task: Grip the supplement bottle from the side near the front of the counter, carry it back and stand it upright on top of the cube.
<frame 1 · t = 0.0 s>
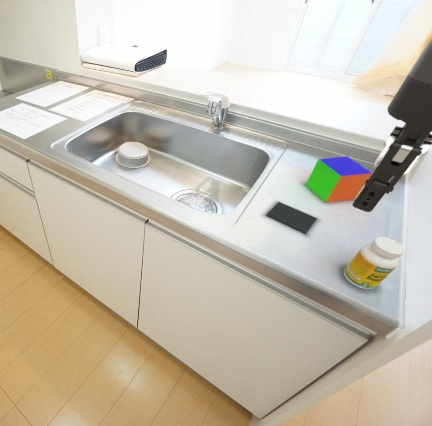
hand: (368, 195, 41), 20 cm above the counter, tool pointing down, fingers open, 8 cm apart
cube: (328, 192, 75), on the counter
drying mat: (290, 217, 67), on the counter
supplement bottle: (358, 279, 54), on the counter
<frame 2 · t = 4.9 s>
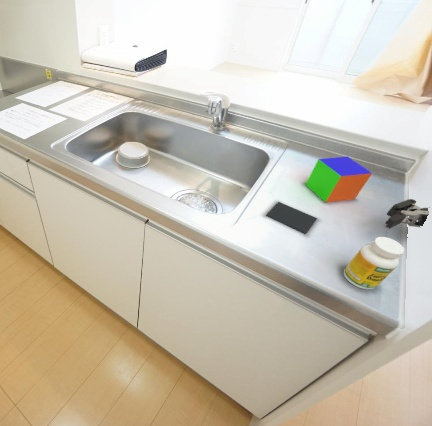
hand: (414, 238, 53), 6 cm above the counter, tool horizontal, fingers open, 8 cm apart
nothing on the counter moved.
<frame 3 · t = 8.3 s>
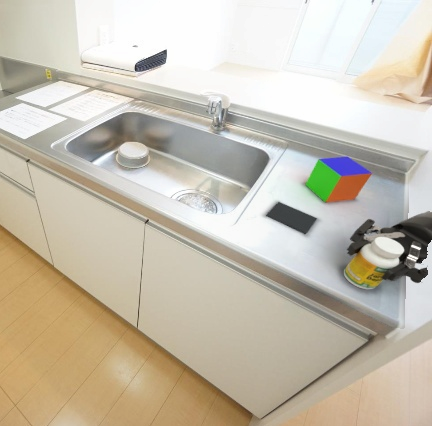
hand: (368, 263, 49), 6 cm above the counter, tool horizontal, fingers closed on supplement bottle, 5 cm apart
supplement bottle: (358, 279, 54), on the counter, touching gripper
everything else where it was.
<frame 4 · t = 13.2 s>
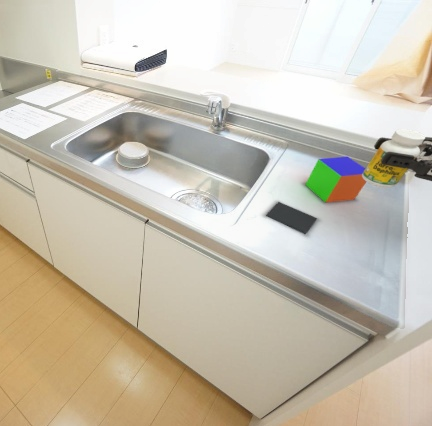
hand: (380, 150, 51), 20 cm above the counter, tool horizontal, fingers closed on supplement bottle, 5 cm apart
supplement bottle: (376, 181, 54), point 14 cm above the counter, touching gripper
everything else where it was.
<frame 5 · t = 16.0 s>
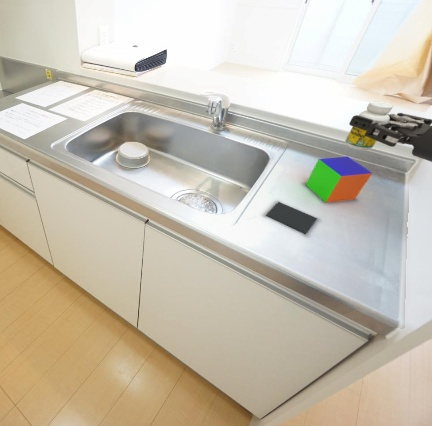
hand: (359, 117, 63), 20 cm above the counter, tool horizontal, fingers closed on supplement bottle, 5 cm apart
supplement bottle: (356, 146, 66), point 13 cm above the counter, touching gripper
everything else where it was.
when the fingers open (14 cm above the counter, at t = 18.3 s): supplement bottle stays where it is, resting on cube.
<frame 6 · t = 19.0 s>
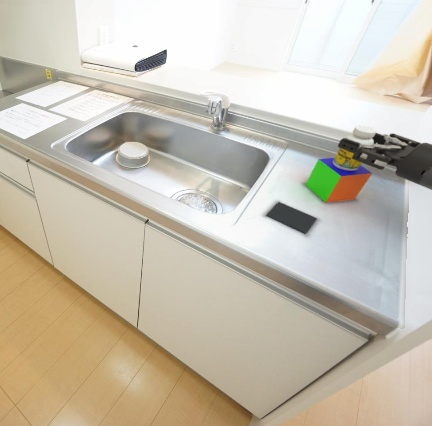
hand: (351, 137, 66), 15 cm above the counter, tool horizontal, fingers open, 8 cm apart
cube: (328, 192, 75), on the counter, touching supplement bottle
supplement bottle: (344, 166, 70), point 8 cm above the counter, touching cube
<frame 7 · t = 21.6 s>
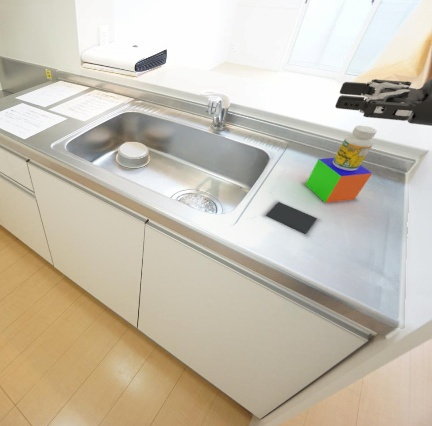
hand: (339, 94, 55), 27 cm above the counter, tool horizontal, fingers open, 8 cm apart
nothing on the counter moved.
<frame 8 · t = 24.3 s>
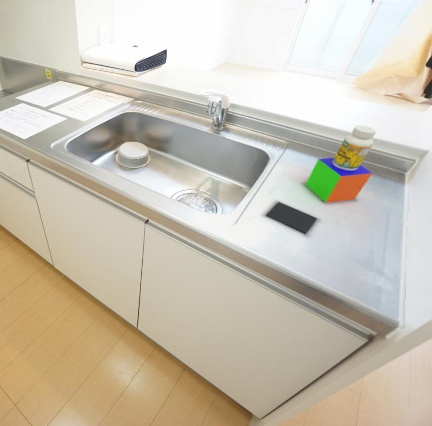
nothing on the counter moved.
at the end: supplement bottle 0.1 cm off-centre on the cube, point 8.0 cm above the cube's base; supplement bottle tilted 0°; the gripper is holding nothing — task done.
